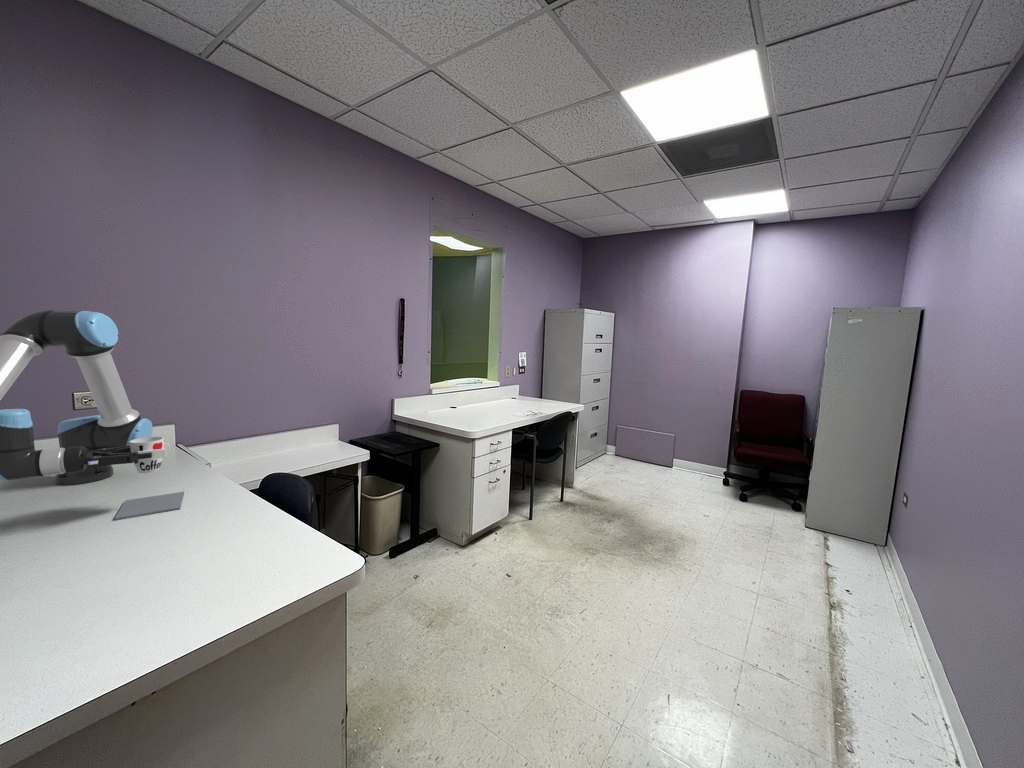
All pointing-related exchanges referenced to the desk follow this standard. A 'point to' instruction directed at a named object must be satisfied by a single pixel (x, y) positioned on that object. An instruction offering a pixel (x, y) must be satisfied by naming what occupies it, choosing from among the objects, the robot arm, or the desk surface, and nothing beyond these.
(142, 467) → the cup
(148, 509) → the mat
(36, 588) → the desk surface
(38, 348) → the robot arm
